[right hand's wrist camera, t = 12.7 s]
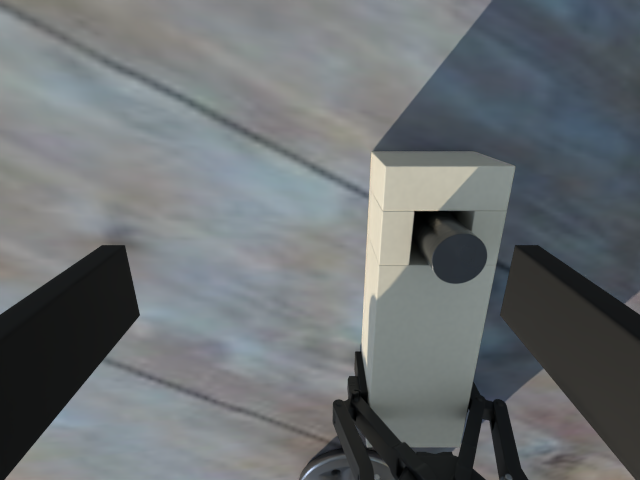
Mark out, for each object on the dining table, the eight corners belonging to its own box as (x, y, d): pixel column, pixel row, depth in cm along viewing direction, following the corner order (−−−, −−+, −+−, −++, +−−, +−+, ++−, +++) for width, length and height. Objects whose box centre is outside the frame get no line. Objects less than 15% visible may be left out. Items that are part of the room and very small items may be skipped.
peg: (399, 191, 37) (435, 233, 25) (439, 191, 37) (492, 233, 25) (396, 229, 38) (428, 284, 27) (434, 229, 38) (482, 284, 27)
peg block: (371, 151, 35) (385, 165, 28) (474, 151, 35) (516, 165, 28) (359, 391, 46) (366, 447, 39) (437, 391, 46) (460, 447, 39)
